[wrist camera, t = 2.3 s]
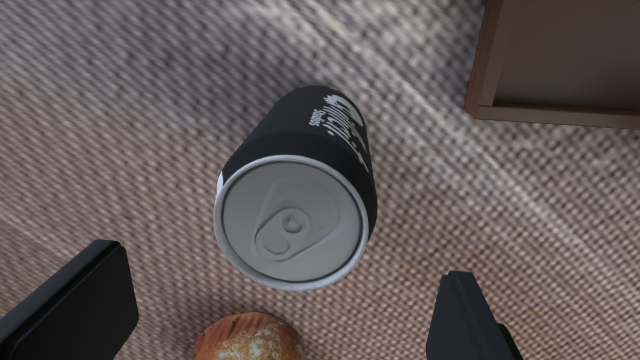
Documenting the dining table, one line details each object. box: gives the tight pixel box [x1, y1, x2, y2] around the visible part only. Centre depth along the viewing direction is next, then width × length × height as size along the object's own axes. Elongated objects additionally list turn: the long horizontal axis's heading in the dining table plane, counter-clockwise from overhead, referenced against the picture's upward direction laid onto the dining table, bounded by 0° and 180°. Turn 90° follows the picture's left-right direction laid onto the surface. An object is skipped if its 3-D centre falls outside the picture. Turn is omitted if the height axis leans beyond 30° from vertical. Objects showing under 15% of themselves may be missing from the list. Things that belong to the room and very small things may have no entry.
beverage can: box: [213, 86, 377, 291], centre depth 19 cm, size 7×7×12 cm
